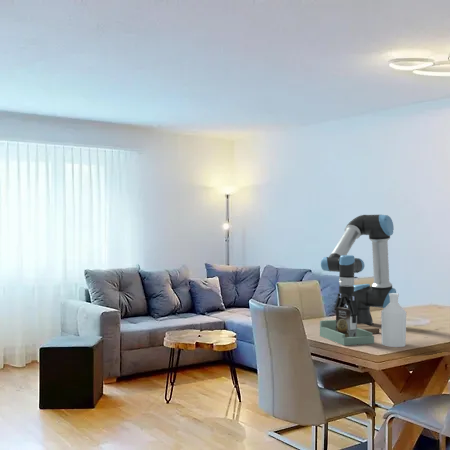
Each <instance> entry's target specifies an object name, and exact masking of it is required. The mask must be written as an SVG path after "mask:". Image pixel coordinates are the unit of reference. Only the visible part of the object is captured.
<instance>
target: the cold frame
mask: <svg viewBox="0 0 450 450" xmlns="http://www.w3.org/2000/svg"><path fill="white" fill-rule="evenodd" d="M319 336H320V337H322V338H325V339H326V340H329V341H331V340H332V342H334V341H335V343H336V342H337V344H339V343H340V344H339V345H341V344H342V346H354V345H356V346H357V344H358V345H371V344H375V335H373V333H372V332H369V331H366V330H363V329H360V328H357V337H345V334H342V333H340V332H337V331H336V319H328V320H327V319H325V320H324V319H323V320H319Z"/></svg>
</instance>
